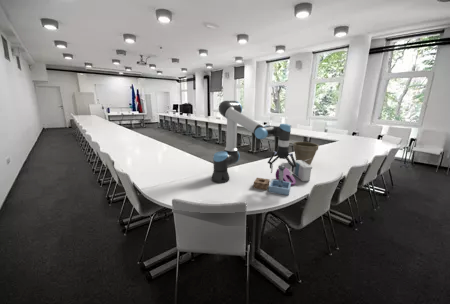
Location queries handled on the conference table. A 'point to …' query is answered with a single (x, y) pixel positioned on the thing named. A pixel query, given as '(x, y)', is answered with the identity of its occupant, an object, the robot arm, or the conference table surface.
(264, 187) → the block
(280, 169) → the steel pin
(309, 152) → the plant pot
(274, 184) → the parts tray
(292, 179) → the mounting bracket
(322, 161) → the conference table surface
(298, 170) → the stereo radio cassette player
